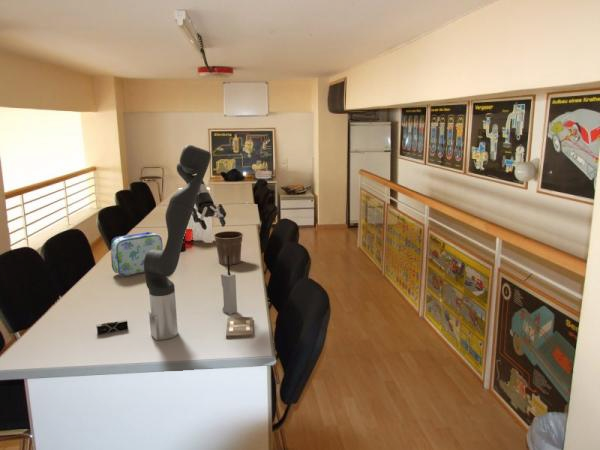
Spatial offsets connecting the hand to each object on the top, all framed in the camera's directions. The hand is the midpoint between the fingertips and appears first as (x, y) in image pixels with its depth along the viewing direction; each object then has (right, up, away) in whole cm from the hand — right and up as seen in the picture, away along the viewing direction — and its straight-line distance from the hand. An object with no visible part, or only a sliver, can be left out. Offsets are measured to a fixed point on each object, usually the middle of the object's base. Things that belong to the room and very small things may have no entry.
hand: (214, 227), depth 208 cm
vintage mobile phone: (+6, -36, 0) cm, 37 cm away
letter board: (+13, -39, -16) cm, 44 cm away
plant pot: (-4, -20, +70) cm, 73 cm away
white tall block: (-31, -9, +118) cm, 122 cm away
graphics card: (-37, -41, -17) cm, 58 cm away
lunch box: (-50, -24, +55) cm, 78 cm away
